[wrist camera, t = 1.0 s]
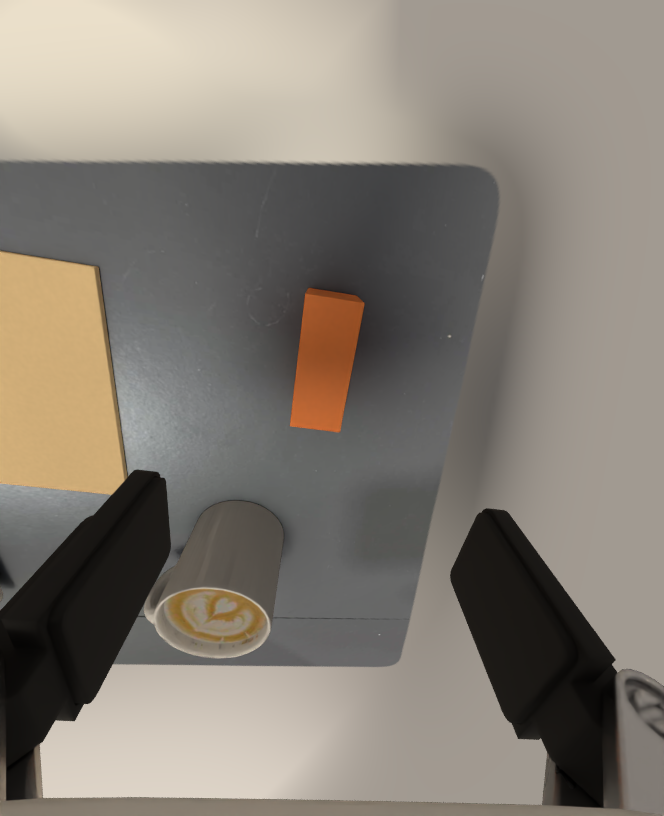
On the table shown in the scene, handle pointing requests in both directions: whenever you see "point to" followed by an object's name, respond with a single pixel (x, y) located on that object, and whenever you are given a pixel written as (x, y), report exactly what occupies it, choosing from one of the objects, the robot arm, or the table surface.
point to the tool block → (325, 358)
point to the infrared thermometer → (1, 594)
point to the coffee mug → (221, 583)
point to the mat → (56, 378)
